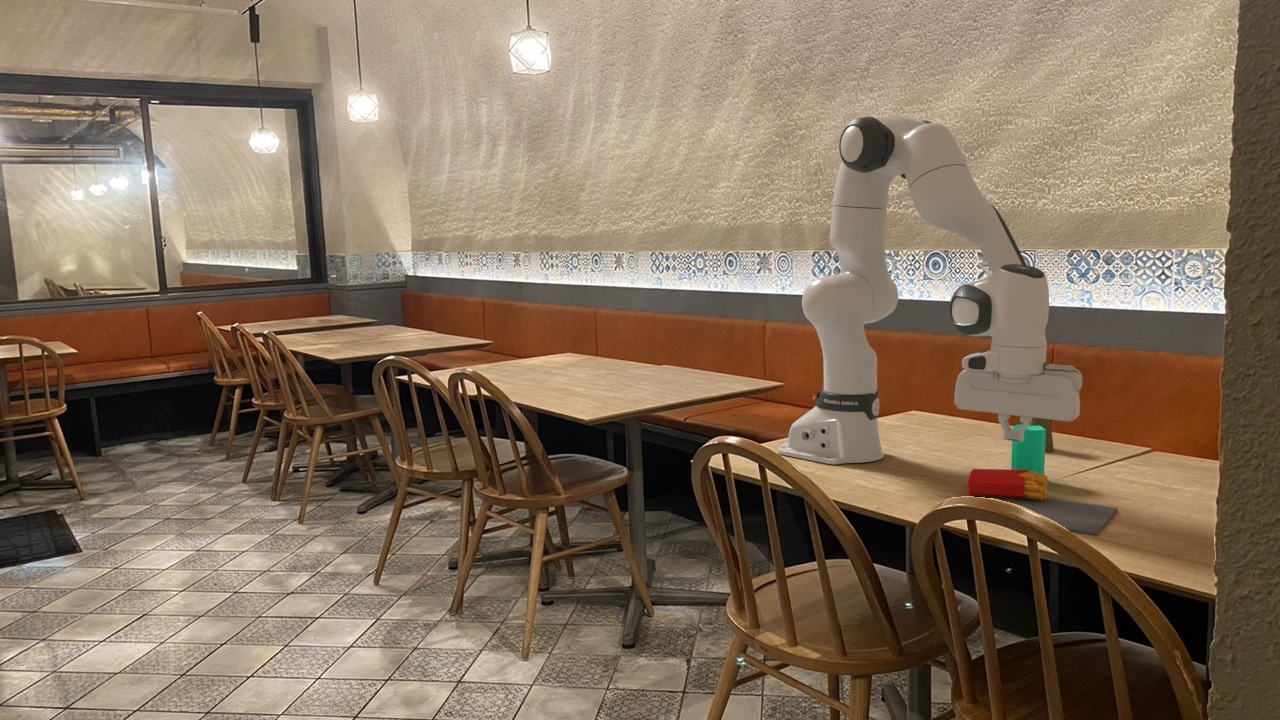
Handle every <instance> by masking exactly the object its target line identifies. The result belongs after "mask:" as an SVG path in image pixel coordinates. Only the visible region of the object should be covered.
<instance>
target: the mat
mask: <svg viewBox="0 0 1280 720" xmlns="http://www.w3.org/2000/svg"><path fill="white" fill-rule="evenodd" d="M989 498H994V499H999V500H1002V501H1006V502H1010V503H1014V504H1017V505H1020V506H1023V507H1025V508H1027V509H1030V510H1032V511H1034V512H1036V513H1038V514H1041V515H1043V516H1045V517H1047V518H1049V519H1051V520H1053V521H1055V522H1057V523H1058V524H1060V525H1061V526H1063V527H1065V528H1066V529H1068V530H1069V531H1068V532H1072V533H1079V534H1084V533H1085V534H1086V535H1091V534H1094V535H1093V536H1098V535H1099V533H1100V532H1101V531H1102V530H1101V529H1103V528H1104V527H1105V526H1106V525H1107V524H1108V522H1109V521H1110V520H1111V519H1112V517H1113V516H1114V515H1115V514H1116V513H1117V511H1118V507H1114V506H1107V505H1100V504H1099V505H1098V504H1094V503H1093V504H1092V503H1086V502H1080V501H1079V502H1077V501H1071V500H1065V499H1064V500H1063V499H1057V498H1056V499H1055V498H1050V497H1047V498H1046V499H1044V500H1037V499H1030V498H1026V500H1023V499H1011V498H1001V497H989ZM1115 512H1116V513H1115ZM1106 523H1107V524H1106ZM1100 530H1101V531H1100Z"/></svg>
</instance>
